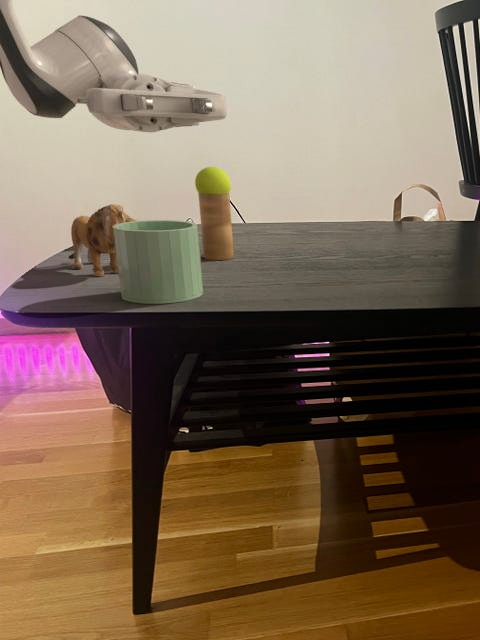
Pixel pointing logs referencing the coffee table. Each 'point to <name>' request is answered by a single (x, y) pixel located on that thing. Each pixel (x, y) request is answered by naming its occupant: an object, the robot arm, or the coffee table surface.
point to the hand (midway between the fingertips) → (180, 104)
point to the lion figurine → (97, 236)
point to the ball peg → (215, 213)
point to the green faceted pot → (158, 261)
